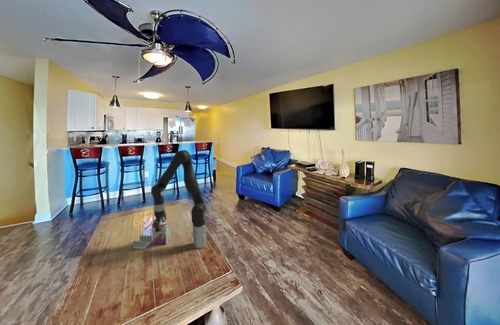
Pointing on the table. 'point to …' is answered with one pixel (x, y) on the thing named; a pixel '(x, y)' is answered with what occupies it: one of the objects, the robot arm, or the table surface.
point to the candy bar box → (161, 233)
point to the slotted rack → (142, 242)
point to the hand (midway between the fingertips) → (160, 228)
